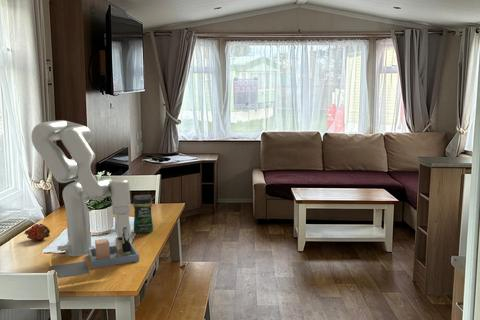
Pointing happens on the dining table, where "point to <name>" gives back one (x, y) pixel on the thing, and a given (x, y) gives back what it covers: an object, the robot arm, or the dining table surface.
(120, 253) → the birch box
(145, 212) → the coffee jar
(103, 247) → the terracotta box
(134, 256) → the slate bin
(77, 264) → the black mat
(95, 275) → the dining table surface
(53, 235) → the dining table surface
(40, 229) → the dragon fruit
